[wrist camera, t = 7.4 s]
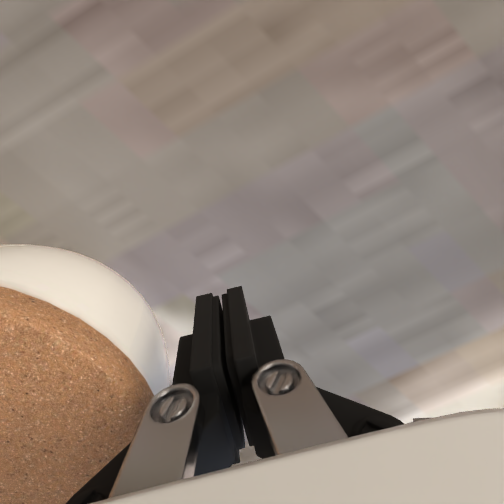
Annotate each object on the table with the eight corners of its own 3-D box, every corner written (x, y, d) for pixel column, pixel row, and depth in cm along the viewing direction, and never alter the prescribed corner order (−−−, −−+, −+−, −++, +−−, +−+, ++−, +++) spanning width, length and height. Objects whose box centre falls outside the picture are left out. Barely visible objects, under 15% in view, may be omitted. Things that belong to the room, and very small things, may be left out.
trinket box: (-110, 292, 14) (-618, 537, 6) (88, 163, 13) (-154, 215, 5) (61, 438, 18) (-87, 727, 9) (226, 345, 17) (237, 567, 8)
